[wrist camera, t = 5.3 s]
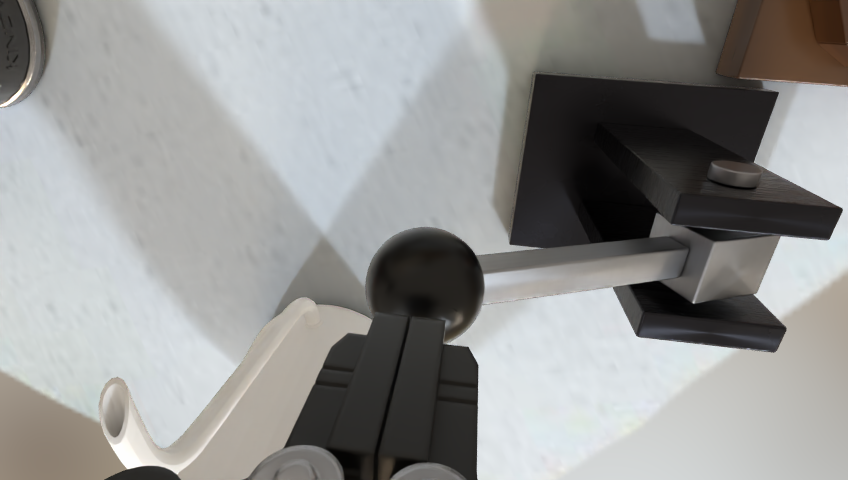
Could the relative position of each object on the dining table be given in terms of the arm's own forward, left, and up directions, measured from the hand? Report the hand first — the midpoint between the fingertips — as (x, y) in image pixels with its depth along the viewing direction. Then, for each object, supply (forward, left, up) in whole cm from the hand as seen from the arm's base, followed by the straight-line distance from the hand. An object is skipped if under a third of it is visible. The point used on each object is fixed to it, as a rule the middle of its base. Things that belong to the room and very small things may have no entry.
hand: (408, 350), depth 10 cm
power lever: (+4, 0, -6) cm, 7 cm away
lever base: (+9, 0, -17) cm, 19 cm away
